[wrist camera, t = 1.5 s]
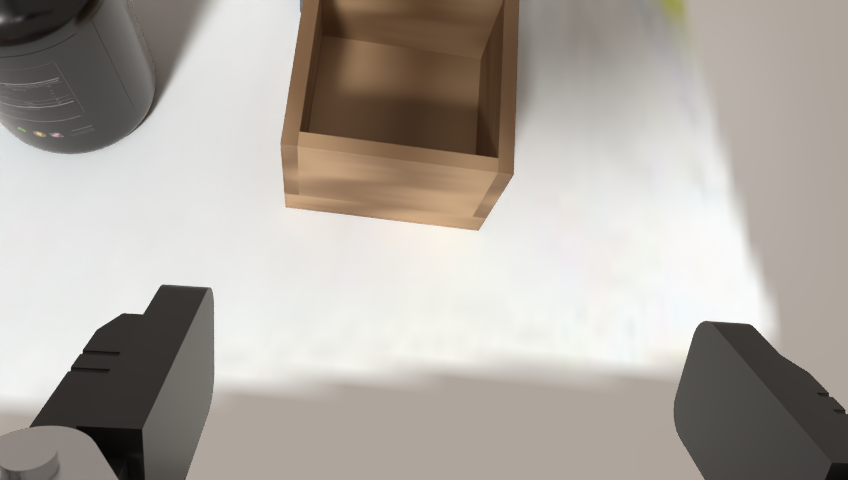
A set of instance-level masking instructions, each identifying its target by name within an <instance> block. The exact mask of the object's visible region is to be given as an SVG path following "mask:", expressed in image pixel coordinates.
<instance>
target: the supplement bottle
mask: <svg viewBox="0 0 848 480" xmlns="http://www.w3.org/2000/svg"><path fill="white" fill-rule="evenodd" d="M155 89H156V74H155V68H154V64H153V61H152V58H151V55H150V52H149V49H148V47H147V44H146V41H145V39H144V36H143V34H142V31H141V28H140V26H139V23H138V21H137V18H136V16H135V13H134V10H133V8H132V5H131V3H130V0H0V122H1V123H2V124H3V125H4V126H5V127H6V128H7V129H8V130H9V131H10V132H11V133H12V134H13V135H15V136H16V137H17V138H19V139H20V140H22V141H23V142H25V143H27V144H29V145H31V146H33V147H36V148H38V149H41V150H45V151H49V152H53V153H61V154H79V153H87V152H92V151H96V150H99V149H102V148H105V147H108V146H110V145H112V144H114V143H116V142H118V141H119V140H121V139H123V138H124V137H125V136H127V135H128V134H129V133H131V132H132V131H133V130H134V129H135V128H136V127H137V126H138V125H139V124H140V123H141V121H142V120H143V119H144V117H145V116H146V114H147V113H148V111H149V109H150V107H151V104H152V102H153V99H154V95H155Z"/></svg>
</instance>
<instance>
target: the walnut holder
mask: <svg viewBox="0 0 848 480" xmlns="http://www.w3.org/2000/svg"><path fill="white" fill-rule="evenodd" d="M518 17H519V0H303V5H302V11H301V18H300V24H299V30H298V37H297V43H296V49H295V56H294V62H293V68H292V75H291V81H290V87H289V94H288V100H287V106H286V113H285V119H284V125H283V132H282V138H281V156H282V168H283V180H284V192H285V204H286V207H290V208H298V209H306V210H314V211H322V212H331V213H339V214H347V215H355V216H363V217H372V218H380V219H388V220H396V221H404V222H413V223H421V224H429V225H437V226H445V227H454V228H462V229H470V230H479V229H480V227H481V226H482V224H483V223H484V221H485V219H486V218H487V216H488V215H489V213H490V211H491V210H492V208H493V207H494V205H495V203H496V202H497V200H498V199H499V197H500V196H501V194H502V192H503V191H504V189H505V188H506V186H507V184H508V183H509V181H510V180H511V178H512V176H513V175H514V145H515V113H516V81H517V49H518Z"/></svg>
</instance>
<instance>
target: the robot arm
mask: <svg viewBox="0 0 848 480" xmlns="http://www.w3.org/2000/svg"><path fill="white" fill-rule="evenodd" d="M213 384H214V299H213V292H212V289H211V288H208V287H192V286H177V285H161V286H160V288H159V289H158V291H157V293H156V294H155V296H154V298H153V299H152V301H151V303H150V304H149V306H148V308H147V309H146V311H145V313H144V314H143V315H142V314H126V313H123V314H121V315H120V316H118V317H117V318H115V319H113V320H112V321H110V322H109V323H107V324H105V325H104V326H102V327H101V328H99V329H98V330H97V331H96V332H95V333H94V335H93V336H92V338H91V339H90V341H89V342H88V344H87V345H86V346H85V348H84V349H83V354H80V355H79V356H78V358H77V359H76V361H75V362H74V364H73V365H72V367H71V371H70V372H69V371H68V372H67V374H66V375H65V377H64V378H63V379H62V381H61V382H60V384H59V385H58V387H57V388H56V390H55V391H54V392H53V394H52V395H51V397H50V398H49V400H48V401H47V402H46V404H45V405H44V407H43V408H42V410H41V411H40V413H39V414H38V415H37V417H36V418H35V420H34V421H33V423H32V424H31V426H30V427H29V428H25V429H21V430H18V431H14V432H11V433H8V434H5V435H3V436H0V480H185V479H186V476H187V473H188V470H189V467H190V465H191V462H192V459H193V456H194V453H195V450H196V447H197V444H198V441H199V438H200V436H201V433H202V430H203V427H204V424H205V421H206V418H207V415H208V412H209V409H210V404H211V399H212V393H213ZM674 421H675V426H676V430H677V433H678V435H679V437H680V439H681V441H682V442H683V444H684V446H685V447H686V449H687V450H688V452H689V454H690V456H691V457H692V459H693V461H694V462H695V464H696V466H697V467H698V469H699V471H700V472H701V474H702V476H703V477H704V479H705V480H848V414H845V409H844V408H843V407H842V406H841V405H840V404H839V403H838V402H837V401H836V400H835V399H834V398H833V397H829V393H828V392H827V391H826V390H825V389H824V388H823V387H822V386H821V385H820V384H819V383H818V382H817V381H816V380H815V379H814V377H813V376H812V375H811V374H809V373H808V372H807V371H805V370H804V369H802V368H800V367H799V366H797V365H796V364H794V363H792V362H791V361H789V360H788V359H786V358H785V357H783V356H781V355H780V354H779V353H778V352H777V351H776V350H775V349H774V348H773V347H772V346H771V345H770V343H769V342H768V341H767V340H766V339H765V338H764V337H763V336H762V335H761V334H760V333H759V332H758V331H757V330H756V329H755V328H754V327H753V326H752V325H750V324H742V323H727V322H712V321H704V322H702V323H700V324H699V325H698V327H697V328H696V330H695V332H694V335H693V338H692V342H691V345H690V349H689V352H688V356H687V359H686V362H685V366H684V369H683V373H682V376H681V380H680V383H679V387H678V390H677V393H676V397H675V402H674Z"/></svg>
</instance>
